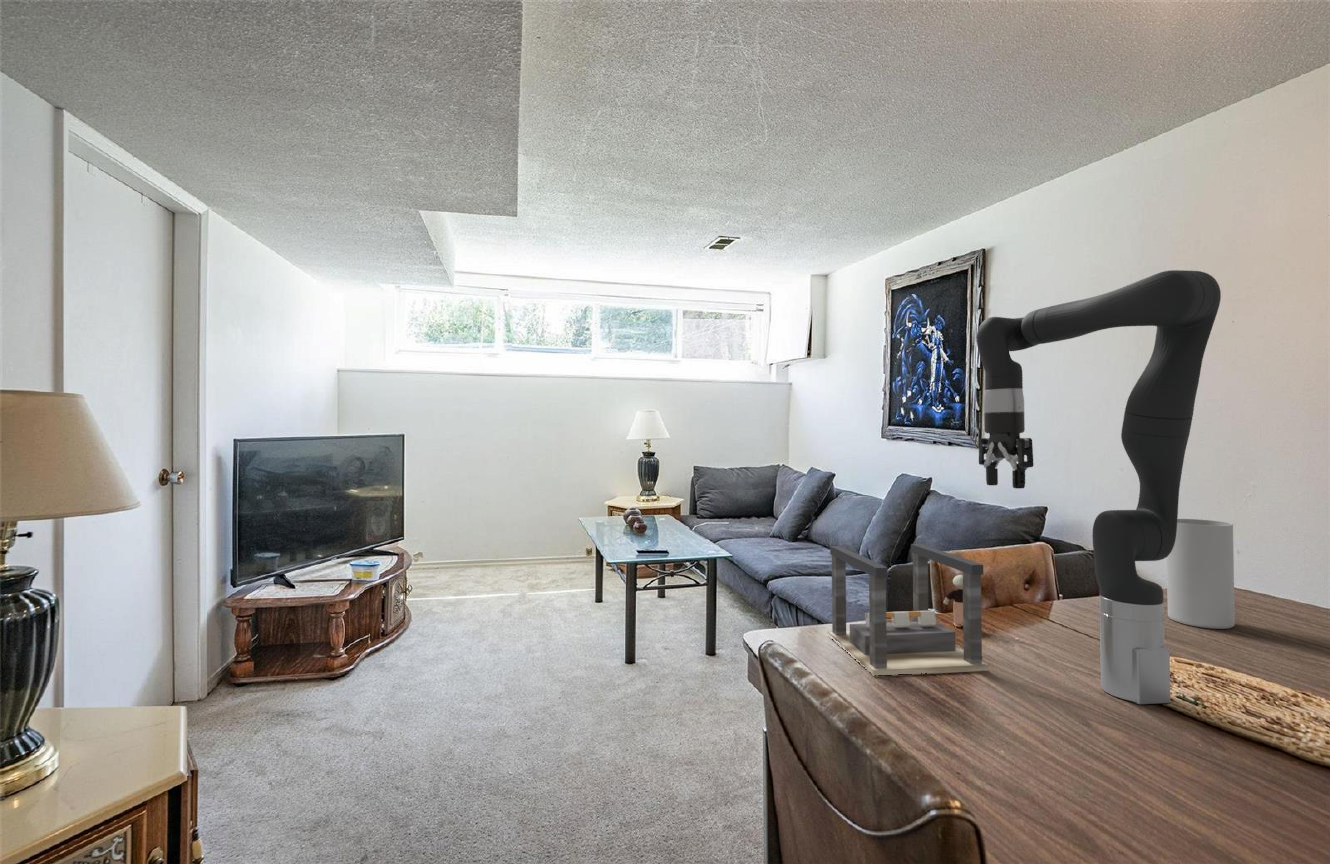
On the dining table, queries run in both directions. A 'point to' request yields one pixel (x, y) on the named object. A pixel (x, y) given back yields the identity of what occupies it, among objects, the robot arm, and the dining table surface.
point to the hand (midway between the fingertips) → (1004, 486)
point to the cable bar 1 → (859, 562)
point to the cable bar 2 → (948, 559)
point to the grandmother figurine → (956, 600)
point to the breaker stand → (908, 629)
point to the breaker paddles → (903, 617)
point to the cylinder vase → (1202, 574)
